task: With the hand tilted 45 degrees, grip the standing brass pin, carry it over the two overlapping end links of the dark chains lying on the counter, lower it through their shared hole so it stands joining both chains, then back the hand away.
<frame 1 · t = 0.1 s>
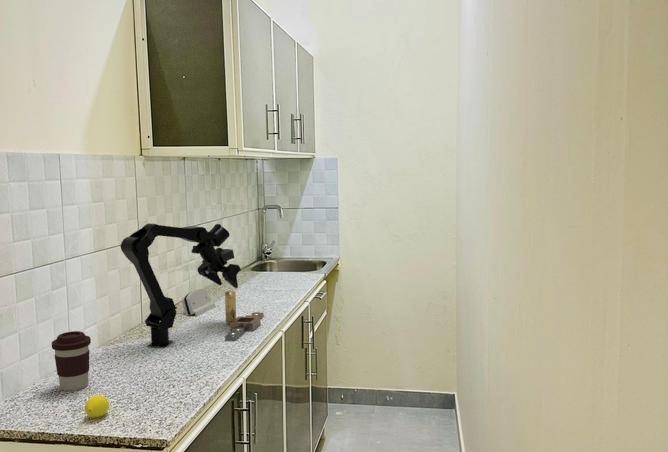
hand: (228, 286, 226), 15 cm above the counter, tool tilted 35°, fingers open, 9 cm apart
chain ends: (245, 327, 223), on the counter
hinge: (198, 311, 249), on the counter
coffee cup: (74, 387, 168), on the counter
brass pin: (231, 323, 228), on the counter
lemon: (97, 417, 147), on the counter
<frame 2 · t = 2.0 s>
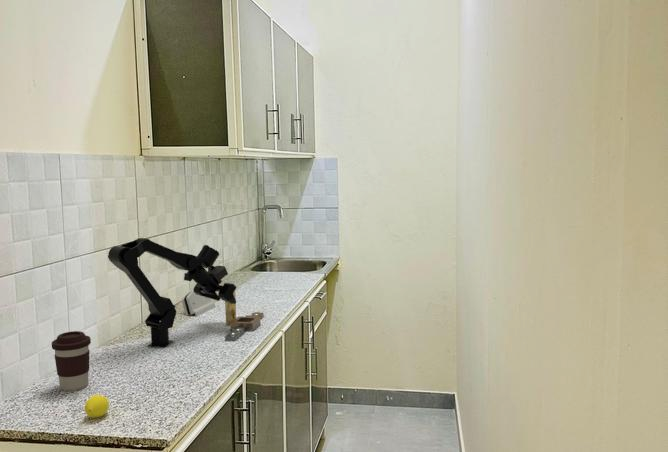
hand: (227, 301, 226), 9 cm above the counter, tool tilted 45°, fingers open, 9 cm apart
nothing on the counter moved.
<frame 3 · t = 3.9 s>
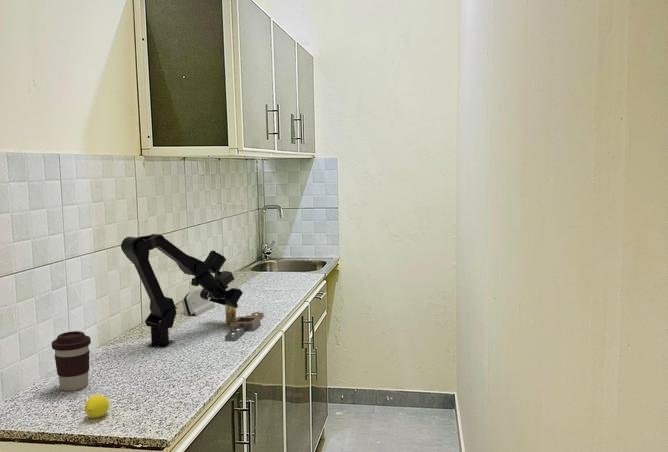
hand: (233, 306, 229), 7 cm above the counter, tool tilted 45°, fingers closed on brass pin, 4 cm apart
brass pin: (231, 323, 228), on the counter, touching gripper
everything else where it was.
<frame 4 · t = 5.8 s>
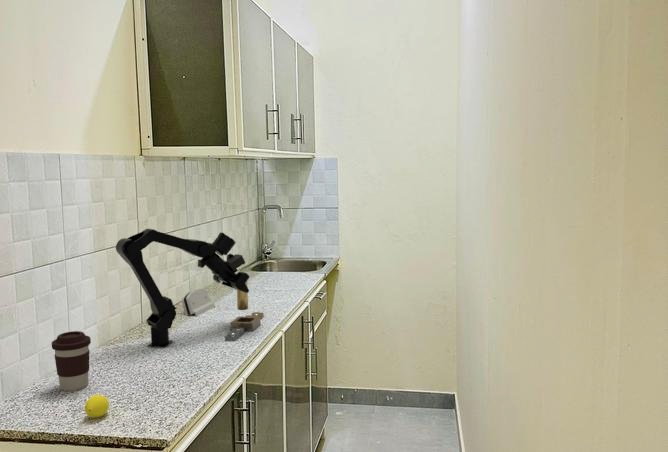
hand: (245, 290, 223), 14 cm above the counter, tool tilted 45°, fingers closed on brass pin, 4 cm apart
brass pin: (242, 308, 223), point 7 cm above the counter, touching gripper
everything else where it was.
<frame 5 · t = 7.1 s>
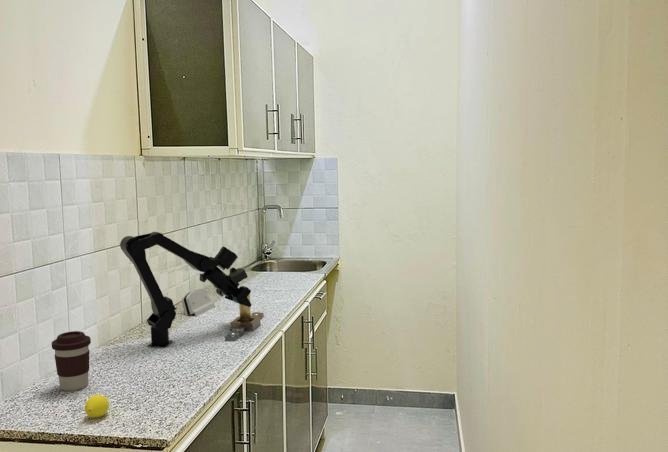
hand: (248, 304, 223), 8 cm above the counter, tool tilted 45°, fingers closed on brass pin, 4 cm apart
brass pin: (245, 322, 223), point 2 cm above the counter, touching gripper
everything else where it was.
when the fingers open (7 cm above the counter, at t = 8.1 s): brass pin stays where it is, resting in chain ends.
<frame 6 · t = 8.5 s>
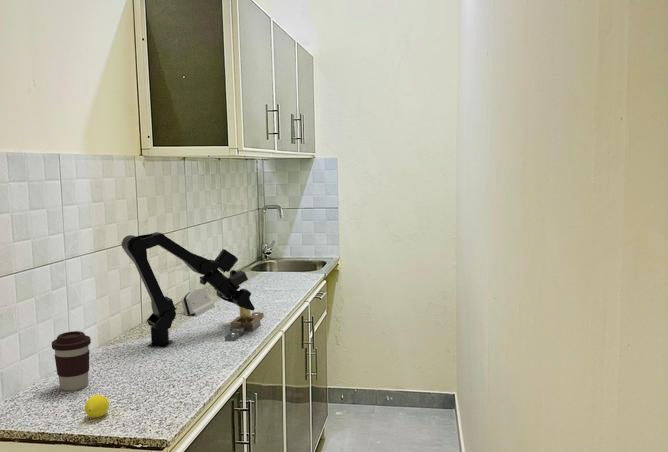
hand: (248, 307, 223), 8 cm above the counter, tool tilted 45°, fingers open, 9 cm apart
brass pin: (245, 327, 223), resting in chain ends
everything else where it was.
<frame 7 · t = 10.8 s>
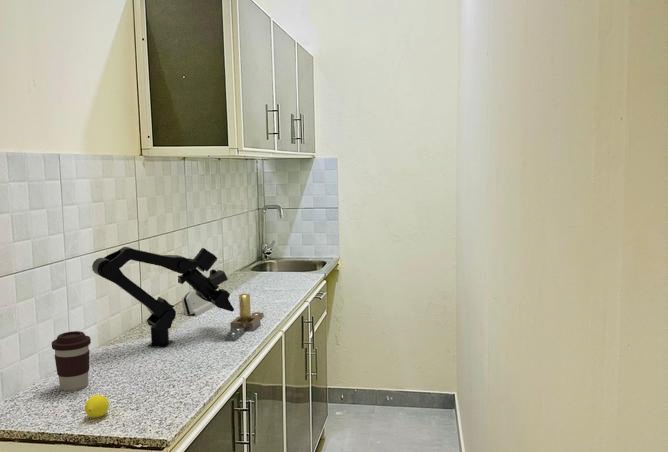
hand: (227, 307, 218), 9 cm above the counter, tool tilted 45°, fingers open, 9 cm apart
nothing on the counter moved.
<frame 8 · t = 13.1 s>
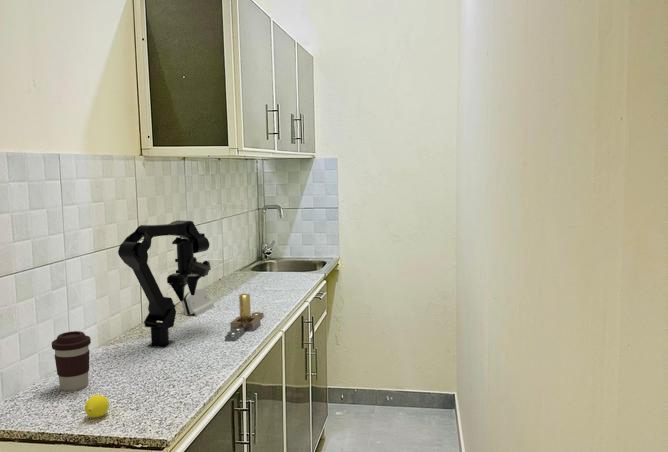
hand: (187, 298, 216), 13 cm above the counter, tool pointing down, fingers open, 9 cm apart
nothing on the counter moved.
at the end: brass pin 0.0 cm off-centre on the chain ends, point 0.0 cm above the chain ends's base; brass pin tilted 0°; the gripper is holding nothing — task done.
